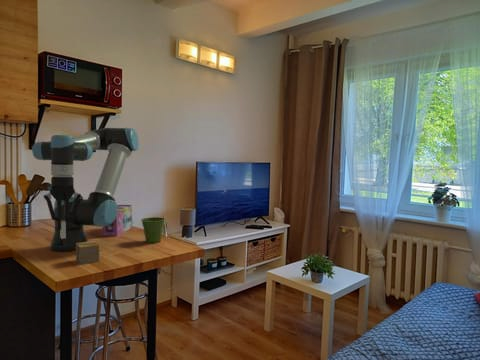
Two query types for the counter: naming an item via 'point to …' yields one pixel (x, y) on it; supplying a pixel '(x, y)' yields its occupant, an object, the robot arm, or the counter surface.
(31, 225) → the counter surface
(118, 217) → the gum box
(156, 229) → the plant pot
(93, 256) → the block
